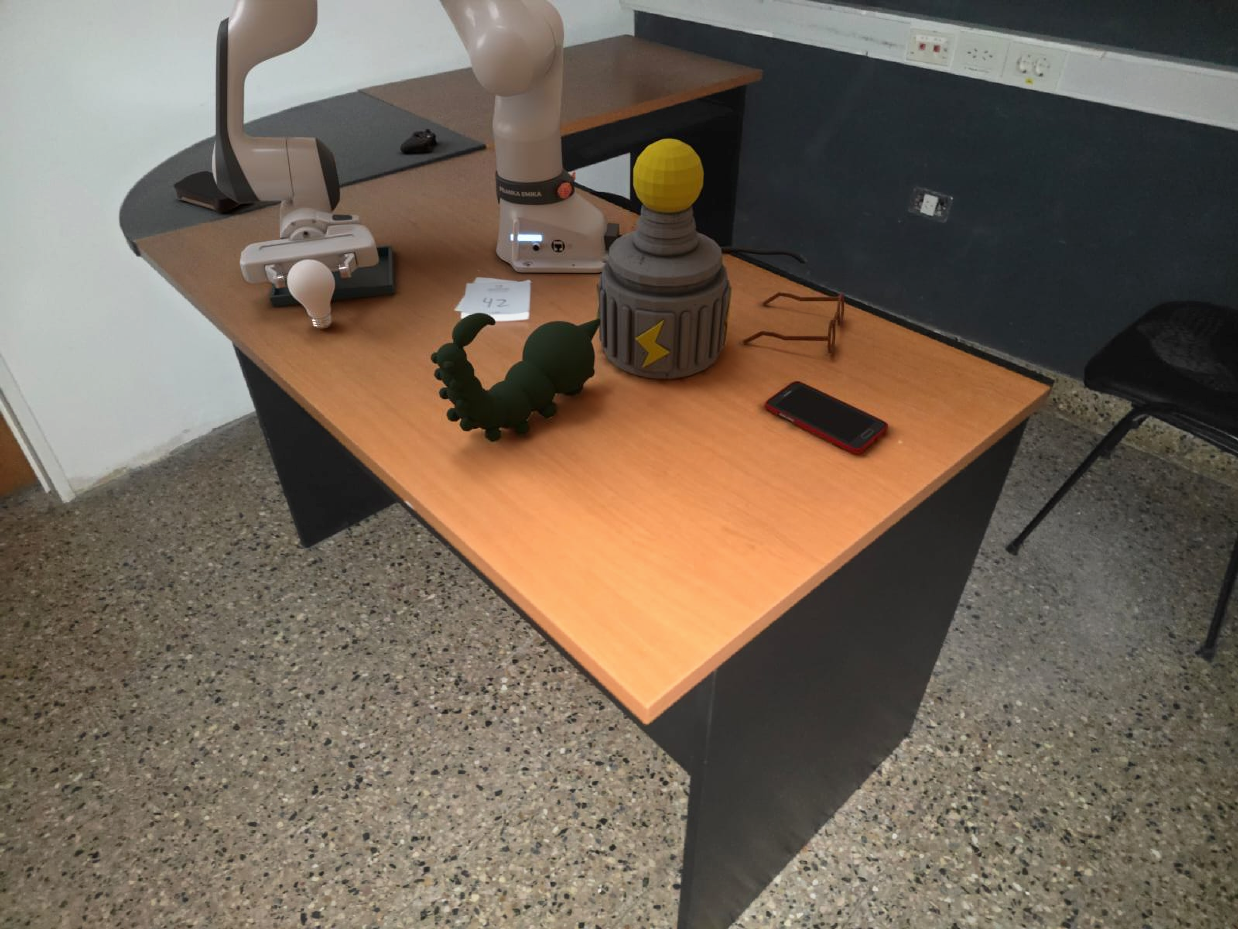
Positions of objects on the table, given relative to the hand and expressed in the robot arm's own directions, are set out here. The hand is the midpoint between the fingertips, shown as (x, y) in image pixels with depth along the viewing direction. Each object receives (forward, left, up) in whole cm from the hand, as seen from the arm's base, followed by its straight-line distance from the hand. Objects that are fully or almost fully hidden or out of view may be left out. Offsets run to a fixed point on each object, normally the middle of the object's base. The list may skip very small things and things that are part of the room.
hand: (312, 278), depth 118 cm
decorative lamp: (-53, -4, -8) cm, 53 cm away
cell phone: (-77, +9, -8) cm, 77 cm away
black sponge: (+45, -40, -8) cm, 61 cm away
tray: (+5, -14, -8) cm, 17 cm away
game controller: (+17, -78, -8) cm, 80 cm away
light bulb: (0, +1, -8) cm, 8 cm away
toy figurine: (-39, +16, -8) cm, 42 cm away
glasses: (-72, -13, -8) cm, 73 cm away
